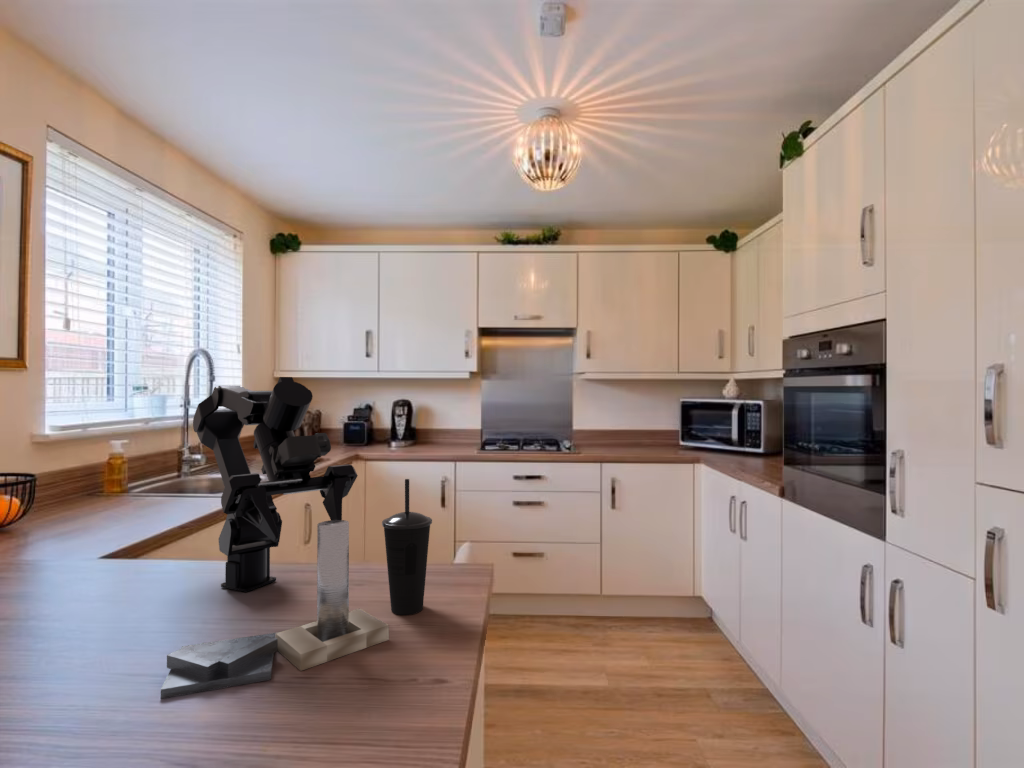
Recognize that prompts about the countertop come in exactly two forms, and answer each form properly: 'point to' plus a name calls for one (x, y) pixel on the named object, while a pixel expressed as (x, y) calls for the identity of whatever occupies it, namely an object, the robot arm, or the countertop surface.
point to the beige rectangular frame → (311, 651)
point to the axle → (332, 579)
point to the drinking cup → (407, 558)
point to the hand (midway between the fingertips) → (309, 533)
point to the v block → (219, 664)
